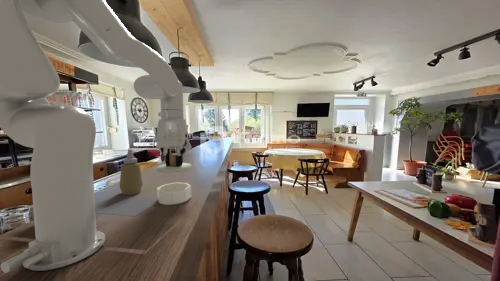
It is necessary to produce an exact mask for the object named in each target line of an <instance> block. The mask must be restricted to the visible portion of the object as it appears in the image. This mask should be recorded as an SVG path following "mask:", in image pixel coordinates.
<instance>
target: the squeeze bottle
mask: <svg viewBox="0 0 500 281" xmlns="http://www.w3.org/2000/svg"><path fill="white" fill-rule="evenodd" d="M143 184H144V182H143V177H142V171H141V165H140V163H138V158H136V157H135V156H134V153H133V149H128V150H127V154H126V158H124V159H123V164H122V165H120V177H119V189H120V191H121V193H122V195H124V196H128V195H129V196H132V195H136V194H139V193H140V192H141V190H142V187H143Z"/></svg>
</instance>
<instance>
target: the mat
mask: <svg viewBox="0 0 500 281" xmlns="http://www.w3.org/2000/svg"><path fill="white" fill-rule="evenodd" d="M158 203H159V202H158V200H157V198H151V197H135V196H128V197H126V198H124V199H121V200H119V201H117V202H115V203H113V204H110V205H108V206H107V207H104V208H102V209H100V210H98V211H95V214H99V215H113V216H127V217H136V216H139V215H140V214H142V213H143V212H145V211H146V210H148V209H149V208H151V207H152V206H154V205H156V204H158Z"/></svg>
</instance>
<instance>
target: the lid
mask: <svg viewBox="0 0 500 281" xmlns="http://www.w3.org/2000/svg"><path fill="white" fill-rule="evenodd" d="M176 156H177V152H176V153H170V154H169V163H170V166H168V167H166V163H163V164H159V165H158V166H156V168H155V169H156V170H155V171H156V172H158V173H164V174H165V173H166V174H167V173H171V174H172V173H180V172H185V171H189V170H191V169H192V164H191V163H187V162H183V164H182V166H179V167H177V166H176Z"/></svg>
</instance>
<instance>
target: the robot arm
mask: <svg viewBox="0 0 500 281" xmlns="http://www.w3.org/2000/svg"><path fill="white" fill-rule="evenodd" d="M24 14H25V15H29V16H32V17H35V18H37V19H41V20H45V21H49V22H52V23H53V22H54V23H56V24H57V23H59V24H67V23H70V22H73V23H74V24H75V25H76V26H77V27H78V28H79V29H80V31H82V32H83V33H84V34H85V36H86V37H87V38H88V39H89V40H90V41H91V42H92V43H93V44H94V46H96V47H97V48H98V49H99V50H100V52H102V53H103V54H104V55H105V56H108V57H110V58H112V59H114V60H117V61H122V62H124V63H128V64H130V65H134V66H135V67H138V68H139V69H141V70H143V71H144V72H146V73H147V74H144V75H140V76H139V77H137V78H136V79H135V80H134V82H133V90H134V91H135V93H136V94H137V95H138V96H139V97H141V98H142V99H145V100H159V101H160V112H158V116H159V117H160V118H159V119H158V122H157V123H158V124H157V130H156V145H155V148H156V149H158V150H159V151H160V152H162V155H163V156H164V162H165V163H164V164H166V167H168V166H170V163H169V154H172V152H171V151H172V148H176V149H175V150H176V153H177V156H176V166H177V167H179V166H182V164H183V163H184V161H183V160H184V157H183V155H184V154H185V153H186V152H187V151H188V150H190V149H192V145H191V143H190V141H189V132H188V126H187V125H188V124H187V122H186V119H184V89H183V88H184V87H183V86H184V85H183V83H182V82H181V81H180V80H179V78H178V77H177V75H176V73H175V71H174V70H173V69H172V67H171V66H170V65H169V63H168V61H166V60H165V58H164V57H163V56H161V54H159V53H158V52H157V51H156V50H154V49H152V48H151V47H150V46H148V44H145V43H144V42H142V41H140V40H138V39H137V38H136V37H134V36H133V35H132V34H131V32H130V31H129V30H128V28H126V27H125V25H124V24H123V23H122V22H121V20H120V19H119V17H118V16H117V15H116V13H115V12H114V11H113V9H112V8H111V7H110V6H109V5H108V3H107V1H106V0H0V129H1V130H2V131H3V132H4V133H5V135H7V136H8V137H9V138H10V139H11V140H13V141H14V142H15V143H16V144H18V145H21V146H23V147H27V148H32V149H33V151H32V155H31V162H30V185H31V192H32V193H31V194H32V196H31V197H32V207H33V221H34V233H35V235H34V237H35V239H34V240H31V241H29V242H28V248H27V249H25V250H23V252H22V253H20V254H18V255H15V256H13V257H11V258H9V259H7V260H5V261H2V263H1V264H0V269H1V271H2V272H3V273H5V274H6V273H10V272H11V271H13V270H15V269H16V268H18V267H20V266H22V267H24V268H25V269H28V270H31V271H35V272H37V271H38V272H39V271H41V272H42V271H49V270H51V271H52V270H55V269H59V268H63V267H67V266H69V265H72V264H75V263H77V262H79V261H82V260H84V259H85V258H88V257H89V256H91V255H93V254H94V253H96V252H97V251H99V249H100V248H102V247H103V244H104V243H105V241H106V234H105V233H104V232H103V231H99V230H97V220H96V219H97V215H96V214H97V213H95V212H96V201H95V200H96V199H95V196H96V195H95V183H94V182H95V181H94V166H93V165H94V161H93V160H94V148H95V142H96V137H97V136H96V134H97V128H96V123H95V121H94V119H93V118H92V116H91V115H90V114H89V113H88V112H86V111H85V110H84V109H83V108H81V107H78V106H75V105H71V104H66V103H64V104H63V103H52V104H51V103H50V101H49V100H48V98H50V97H51V96H53V95H55V93H57V91H59V89H60V86H61V81H60V76H59V73H58V71H57V69H55V66H54V65H53V63H52V62H51V60H50V59H49V57H48V56H47V54H46V52H45V50H44V49H43V47H42V45H41V44H40V42H39V40H38V39H37V37H36V36H35V34H34V33H33V31H32V29H31V28H30V25H29V23H28V21H27V19H26V18H25V16H24Z"/></svg>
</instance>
